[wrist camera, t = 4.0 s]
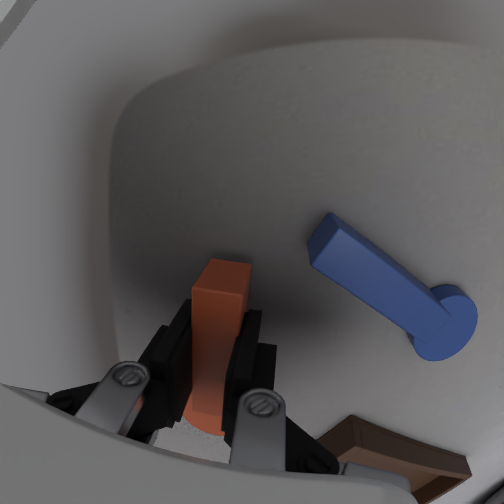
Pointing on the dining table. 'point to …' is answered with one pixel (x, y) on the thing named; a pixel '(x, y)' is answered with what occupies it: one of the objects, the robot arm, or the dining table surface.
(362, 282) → the blue spoon
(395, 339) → the dining table surface
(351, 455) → the tray
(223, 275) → the terracotta spoon
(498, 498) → the bowl
